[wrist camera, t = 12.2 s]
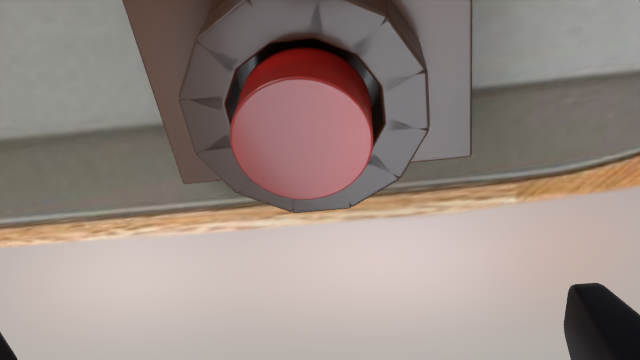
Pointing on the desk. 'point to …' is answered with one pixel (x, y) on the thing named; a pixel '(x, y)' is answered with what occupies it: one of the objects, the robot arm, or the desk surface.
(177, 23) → the button block
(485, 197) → the desk surface
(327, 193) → the button
